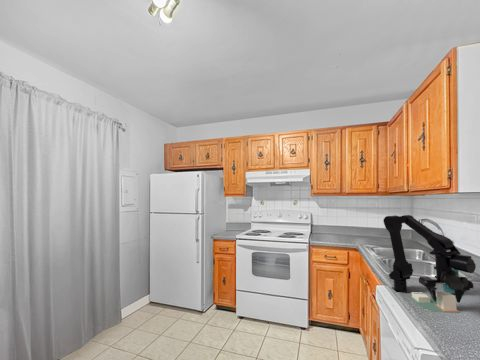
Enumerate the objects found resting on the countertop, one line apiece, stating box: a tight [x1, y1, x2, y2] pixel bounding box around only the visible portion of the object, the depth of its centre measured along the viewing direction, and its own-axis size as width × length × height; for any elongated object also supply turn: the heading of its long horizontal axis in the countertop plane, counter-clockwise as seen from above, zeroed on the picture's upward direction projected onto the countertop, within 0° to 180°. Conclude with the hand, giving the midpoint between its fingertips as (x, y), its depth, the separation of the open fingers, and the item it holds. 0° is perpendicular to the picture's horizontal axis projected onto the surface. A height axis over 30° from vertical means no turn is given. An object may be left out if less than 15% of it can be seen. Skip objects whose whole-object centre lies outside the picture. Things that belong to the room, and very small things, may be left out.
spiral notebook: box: [411, 291, 431, 303], centre depth 115 cm, size 6×5×2 cm
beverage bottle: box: [442, 268, 460, 294], centre depth 122 cm, size 6×7×20 cm
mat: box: [407, 295, 461, 314], centre depth 111 cm, size 16×13×1 cm
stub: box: [436, 291, 458, 310], centre depth 106 cm, size 4×5×6 cm
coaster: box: [435, 304, 461, 313], centre depth 106 cm, size 6×6×1 cm
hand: (446, 301), depth 106 cm, fingers open, 9 cm apart
